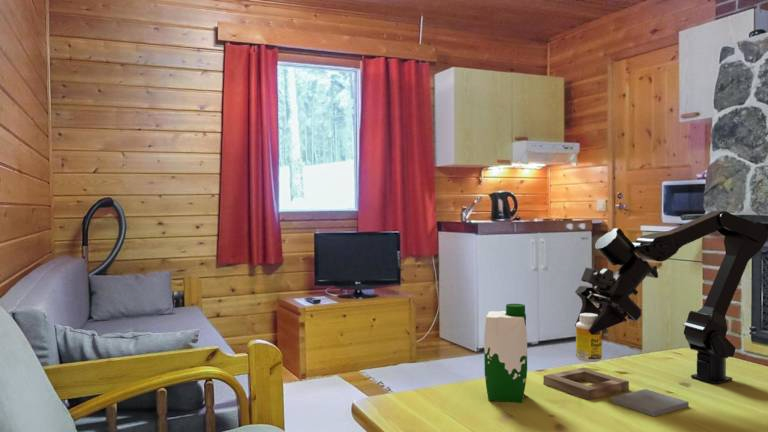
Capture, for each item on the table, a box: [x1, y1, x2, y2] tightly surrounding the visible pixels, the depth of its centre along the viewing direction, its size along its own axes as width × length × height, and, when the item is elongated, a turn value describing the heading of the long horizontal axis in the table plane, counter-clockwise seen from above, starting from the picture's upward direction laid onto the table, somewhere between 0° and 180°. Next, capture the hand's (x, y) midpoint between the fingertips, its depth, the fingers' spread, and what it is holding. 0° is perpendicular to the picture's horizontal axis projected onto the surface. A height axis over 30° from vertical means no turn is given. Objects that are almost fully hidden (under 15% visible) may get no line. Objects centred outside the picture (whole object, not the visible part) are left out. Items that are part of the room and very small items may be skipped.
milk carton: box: [483, 303, 528, 404], centre depth 127 cm, size 9×9×20 cm
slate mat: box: [610, 388, 689, 417], centre depth 122 cm, size 11×10×1 cm
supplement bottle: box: [575, 313, 603, 363], centre depth 133 cm, size 6×6×10 cm
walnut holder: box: [543, 367, 630, 401], centre depth 134 cm, size 13×13×2 cm
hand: (583, 330), depth 133 cm, fingers closed on supplement bottle, 5 cm apart
